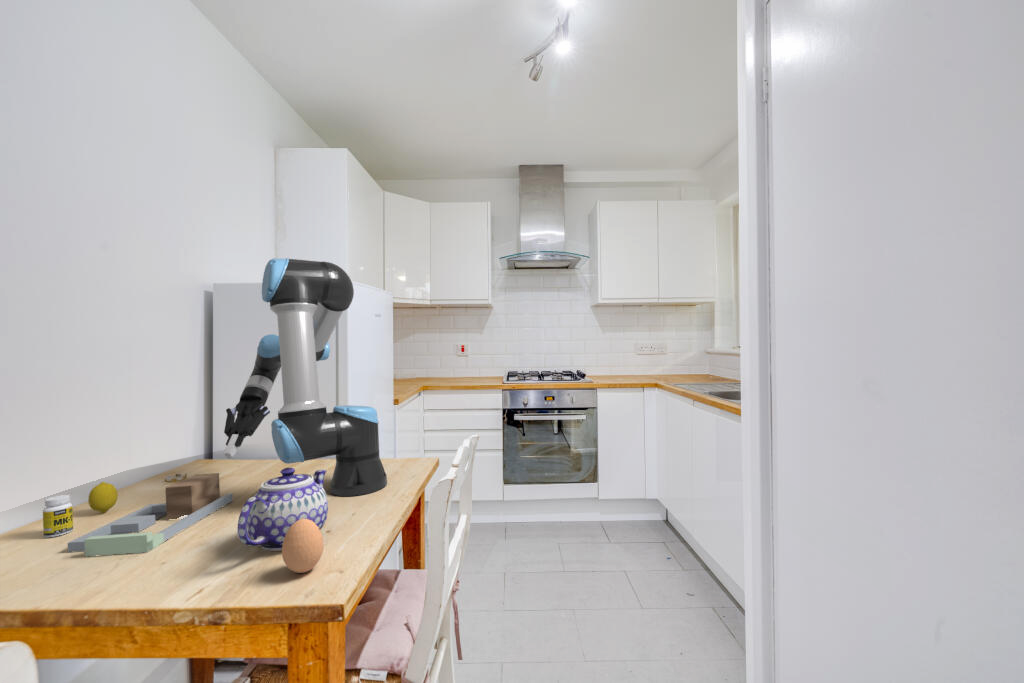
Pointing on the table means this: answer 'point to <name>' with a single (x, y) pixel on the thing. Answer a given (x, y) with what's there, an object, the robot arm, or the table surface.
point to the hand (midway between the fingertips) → (228, 455)
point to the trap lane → (121, 542)
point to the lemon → (103, 497)
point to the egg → (302, 546)
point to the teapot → (282, 508)
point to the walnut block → (191, 494)
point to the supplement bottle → (57, 516)
